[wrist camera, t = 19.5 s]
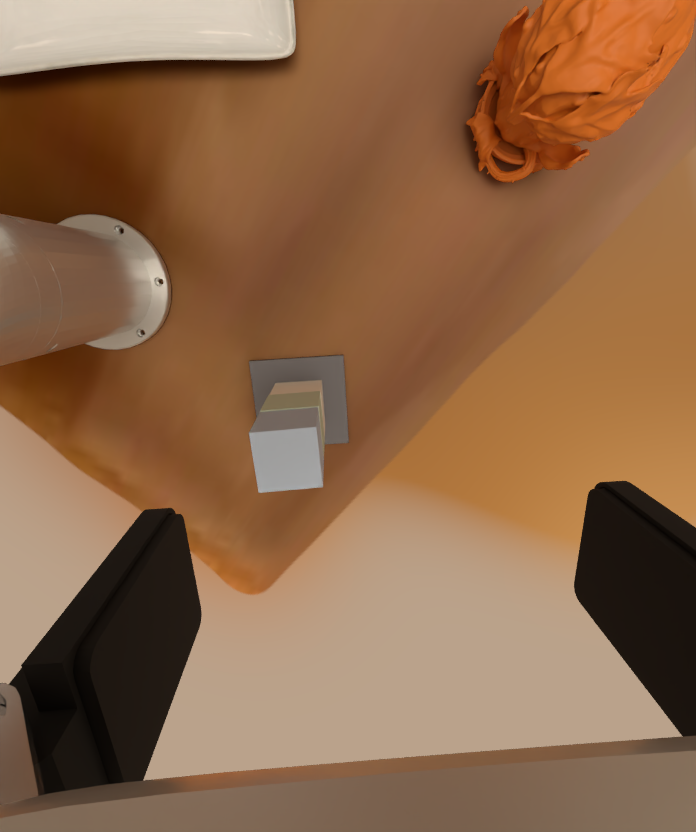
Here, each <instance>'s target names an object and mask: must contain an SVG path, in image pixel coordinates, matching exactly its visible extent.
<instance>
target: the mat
mask: <svg viewBox="0 0 696 832" xmlns="http://www.w3.org/2000/svg"><path fill="white" fill-rule="evenodd" d="M249 365H250V372H251V380H252V387H253V395H254V402H255V410H256V417H257V416H258V415H259V413H260V410H261V408H262V406H263V404H264V402H265V400H266V399H267V397H268V395H269V394H270V393H271V391H272V389H273V387H274V385H275V383H283V382H299V381H314V380H322V389H323V402H324V414H325V443H324V444H337V443H349V439H348V423H347V406H346V390H345V374H344V358H343V355H333V356H317V357H302V358H286V359H271V360H255V361H249Z"/></svg>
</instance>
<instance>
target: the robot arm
mask: <svg viewBox="0 0 696 832" xmlns="http://www.w3.org/2000/svg"><path fill="white" fill-rule="evenodd" d="M122 228H123V229H124V233H123V234H122V232H121V229H122ZM161 279H162V280H163V284H161V283H160V280H161ZM170 304H171V284H170V277H169V274H168V271H167V268H166V265H165V263H164V261H163V259H162V257H161V256H160V254H159V252H158V251H157V250H156V248H155V247H154V246H153V244H152V243H151V242H150V241H149V240H148V239H147V238H146V237H145V236H144V235H143V234H142V233H141V232H139V231H138V230H136V229H135V228H133V227H132V226H130V225H129V224H127V223H124V222H122V221H120V220H118V219H115V218H111V217H108V216H103V215H96V214H84V215H77V216H73V217H69V218H66V219H65V220H63V221H61V222H59V223H57V224H52V223H46V222H41V221H36V220H31V219H25V218H20V217H15V216H9V215H4V214H0V366H3V365H6V364H10V363H13V362H17V361H21V360H25V359H29V358H32V357H36V356H40V355H44V354H47V353H51V352H55V351H58V350H62V349H66V348H69V347H73V346H77V345H80V344H84V343H85V344H87V345H90V346H92V347H96V348H101V349H108V350H119V349H125V348H130V347H133V346H136V345H139V344H141V343H143V342H145V341H147V340H148V339H149V338H151V337H152V336H153V335H154V334H156V333H157V331H158V330H159V329H160V327H161V326H162V325H163V323H164V321H165V319H166V317H167V315H168V312H169V308H170ZM142 330H144V331H145V334H143V332H142ZM574 588H575V593H576V596H577V599H578V600H579V602H580V603H581V604H582V606H583V607H584V608H585V610H586V611H587V612H588V614H589V615H590V616H591V618H592V619H593V620H594V621H595V623H596V624H597V625H598V627H599V628H600V629H601V631H602V632H603V633H604V634H605V636H606V637H607V638H608V640H609V641H610V642H611V644H612V645H613V646H614V647H615V649H616V650H617V651H618V653H619V654H620V655H621V656H622V658H623V659H624V660H625V662H626V663H627V664H628V666H629V667H630V668H631V670H632V671H633V672H634V674H635V675H636V676H637V677H638V679H639V680H640V681H641V683H642V684H643V685H644V686H645V688H646V689H647V690H648V692H649V693H650V694H651V696H652V697H653V698H654V700H655V701H656V702H657V703H658V705H659V706H660V707H661V709H662V710H663V711H664V713H665V714H666V715H667V716H668V718H669V719H670V720H671V722H672V723H673V724H674V725H675V727H676V728H677V729H678V731H679V732H680V733H681V735H682V736H683V737H672V738H658V739H643V740H629V741H614V742H602V743H587V744H573V745H560V746H548V747H535V748H521V749H507V750H496V751H495V750H494V751H481V752H468V753H455V754H444V755H430V756H417V757H404V758H392V759H379V760H368V761H357V762H345V763H333V764H332V763H331V764H319V765H307V766H297V767H296V766H295V767H284V768H272V769H261V770H248V771H237V772H224V773H213V774H203V775H194V776H185V777H175V778H164V779H155V780H145V781H143V779H144V776H145V774H146V771H147V768H148V766H149V763H150V760H151V757H152V755H153V751H154V749H155V747H156V744H157V741H158V738H159V736H160V733H161V730H162V727H163V724H164V722H165V719H166V717H167V714H168V711H169V709H170V706H171V703H172V700H173V697H174V695H175V692H176V689H177V687H178V684H179V681H180V679H181V676H182V673H183V670H184V668H185V665H186V662H187V660H188V657H189V654H190V651H191V648H192V646H193V643H194V641H195V637H196V635H197V632H198V630H199V627H200V623H201V606H200V601H199V596H198V591H197V585H196V580H195V575H194V570H193V564H192V559H191V554H190V549H189V544H188V538H187V533H186V528H185V523H184V519H183V516H182V515H181V514H176V513H175V511H174V510H173V509H172V508H165V509H148V510H144V511H143V512H142V513H141V514H140V516H139V517H138V518H137V519H136V521H135V522H134V524H133V525H132V526H131V527H130V528H129V530H128V531H127V532H126V533H125V535H124V536H123V537H122V539H121V540H120V541H119V542H118V543H117V545H116V546H115V547H114V549H113V550H112V551H111V552H110V554H109V555H108V556H107V558H106V559H105V560H104V561H103V562H102V564H101V565H100V566H99V568H98V569H97V570H96V572H95V573H94V574H93V575H92V577H91V578H90V579H89V580H88V582H87V583H86V584H85V585H84V587H83V588H82V589H81V591H80V592H79V593H78V594H77V595H76V597H75V598H74V599H73V601H72V602H71V603H70V604H69V606H68V607H67V608H66V609H65V611H64V612H63V613H62V614H61V616H60V617H59V618H58V620H57V621H56V622H55V623H54V625H53V626H52V627H51V628H50V630H49V631H48V632H47V633H46V635H45V636H44V637H43V638H42V640H41V641H40V642H39V644H38V645H37V646H36V647H35V649H34V650H33V651H32V652H31V654H30V655H29V656H28V657H27V659H26V660H25V661H24V663H23V664H22V665H21V666H22V668H21V670H20V671H19V672H18V673H17V675H16V676H15V677H14V679H13V680H12V681H11V682H10V684H6V683H0V832H696V528H695V527H694V526H692V525H691V524H689V523H688V522H687V521H685V520H684V519H682V518H681V517H679V516H678V515H676V514H675V513H673V512H672V511H670V510H669V509H668V508H666V507H665V506H663V505H662V504H660V503H659V502H657V501H656V500H655V499H653V498H652V497H650V496H649V495H647V494H646V493H644V492H643V491H641V490H640V489H639V488H637V487H636V486H634V485H633V484H631V483H629V482H627V481H615V482H600V483H598V484H597V485H596V486H595V489H592V490H590V492H589V494H588V498H587V505H586V511H585V517H584V524H583V530H582V537H581V543H580V550H579V556H578V562H577V569H576V575H575V582H574Z"/></svg>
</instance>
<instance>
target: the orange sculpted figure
mask: <svg viewBox="0 0 696 832" xmlns="http://www.w3.org/2000/svg"><path fill="white" fill-rule="evenodd" d="M528 14H529V9H528V7H526V6H524V7H523V9H522V10H520V11H518V14H517V16H515V17H513V18H512V19H511V20H510V21H509V22H508V23H507V25H506V26H505V27H504V29H503V31H502V32H501V34H500V39H499V41H498V43H497V46H496V48H495V50H494V54H493V57H494V60H492V61H490V63H489V65H488V67H486V68H485V69H484V70H483V74H480V76H481V78H480V80H479V81H478V82H477V85H482V84H483V83H484V82H485V81H487V80H489V83H488V86H487V88H486V91H485V93H484V95H483V97H482V98H481V99H480V101H479V103H478V107H477V109H476V112H475V116H473V118H471V119H469V120H468V121H467V122H466V124H467V125H469V126H471V130H472V132H473V135H474V139H473V141H476V142H477V146H476V149H475V151H478V157H479V159H480V162H479V163H478V166H479V171H482V169H483V168H484V167H485V166H487V168H488V170H489V171H488V173H490V174H491V175H492V176H493V177H494V178H495V179H496V180H498V181H501V182H512V184H513V182H514V181H517V180H520V179H523V178H525V177H526V176H528V175H529V174H530V173H531V172H532V173H534V172H537V171H539V170H541V169H542V168H543V167H544V168H545V169H547V170H560V169H564V170H567V169H568V168H571V167H572V166H573V164H575V163H576V162H577V161H583V160H584V158H585V157H586V156H588V155H589V154H590V152H589V150H588V149H585V150H582V151H581V148H580V147H579V146H576V145H571V144H575V143H578V142H580V141H583V140H587V141H589V142H592V141H594V140H598V139H600V138H602V137H606V136H608V135H610V134H612V133H613V132H615V131H616V130H617V129H619V128H620V126H621V125H622V124H623V123H624V122H625V121H626V120H627V119H629V118H631V117H632V116H634V115H635V114H636V111H637V110H639V109H640V108H641V107H642V106H643V103H644V101H645V99H646V98H647V97H648V96H650V95H651V94H652V93H653V92H654V91H655V90H656V89H657V88H658V87H659V85H660V84H661V83H662V82H663V81H664V80H665V77H666V76H667V75H668V73H669V72H670V70H671V69H672V67H673V66H674V65H675V63H676V62H677V61H678V59H679V58H680V57H681V55H682V54H683V52H684V51H685V49H686V48H687V46H688V44H689V42H690V39H691V37H692V34H693V28H694V21H695V17H696V0H543V4H542V5H541V6H540V7H539V8H537V9H536V11H535V12H534V14H533V15H532V17H531V18H529V19H527V20H526V18H527V17H528ZM525 20H526V21H525ZM492 155H493V156H494V157H496V158H498V159H500V160H501V161H504V162H506V163H509V164H524V165H523V166H522V167H521V168H520V169H517V170H514V171H509V172H505V171H502V170H500V169H499V168H498V167H497V165H496V164H495V162H494V160H493V158H492ZM488 173H487V174H488Z"/></svg>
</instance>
